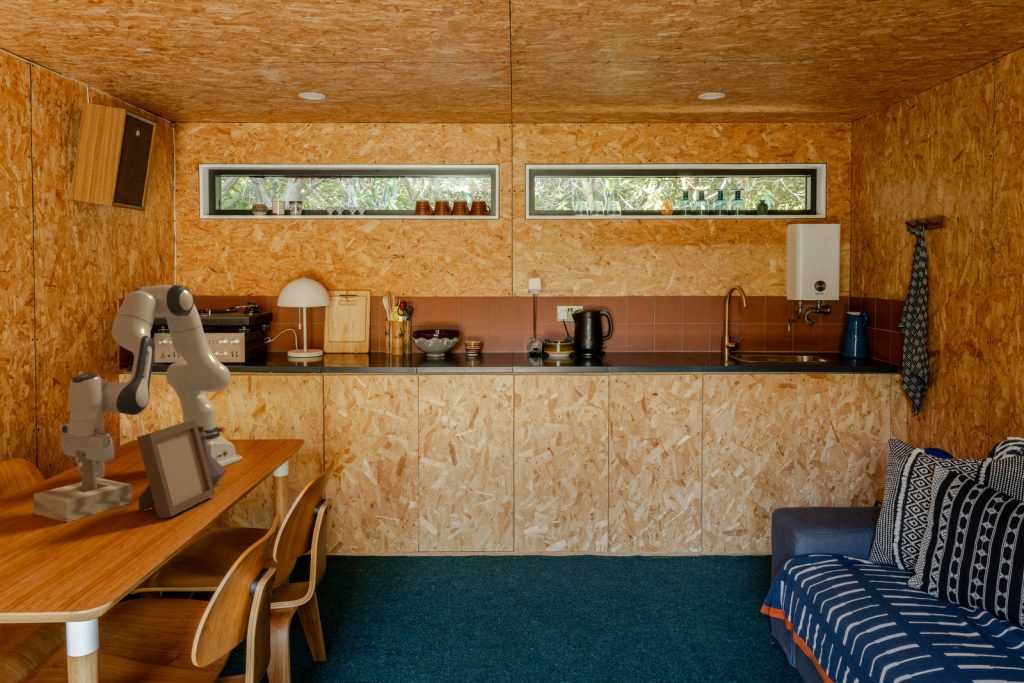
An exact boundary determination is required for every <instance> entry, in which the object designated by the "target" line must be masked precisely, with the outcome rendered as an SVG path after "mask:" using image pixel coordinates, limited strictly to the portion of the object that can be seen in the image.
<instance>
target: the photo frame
mask: <svg viewBox="0 0 1024 683" xmlns="http://www.w3.org/2000/svg"><path fill="white" fill-rule="evenodd" d="M136 440H137V444H138V447H139V450H140V455H141V459H142V462H143V465H144V469H145V473H146V477H147V481H148V484H147V487H146V488H145V489H144V490H143V491H142V493H141V494H140V495H139V496H138V510H143V511H145V510H144V509H148V510H150V509H149V508H153V509H155V511H156V515H157V516H156V517H157V518H158V517H159V518H162V519H165V518H166V519H167V518H171V517H173V516H176V515H177V514H179V513H181V512H184V511H185V510H187V509H189V508H192V507H194V506H196V505H197V504H199V503H201V502H203V501H205V500H208V499H210V498H212V497H214V496H215V495H216V492H215V488H214V486H213V484H212V480H211V476H210V472H209V468H208V465H207V461H206V457H205V453H204V449H203V445H202V441H201V438H200V434H199V430H198V426H197V422H196V420H193V421H189V422H184V423H183V422H182V423H179V424H174V425H171V426H169V427H165V428H162V429H159V430H155V431H152V432H149V433H146V434H143V435H139V436H137V437H136ZM154 507H155V508H154Z"/></svg>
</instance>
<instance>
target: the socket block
mask: <svg viewBox="0 0 1024 683" xmlns="http://www.w3.org/2000/svg"><path fill="white" fill-rule="evenodd" d="M96 480H97V489H96V490H92V491H88V492H83V490H82V481H81V482H76V483H73V484H69V485H66V486H65V485H64V486H60V487H57V488H53V489H48V490H45V491H40V492H36V493H33V494H32V495H33V511H34V512H33V513H34V515H36V514H37V516H40V515H42V516H41V517H44V516H45V517H44V518H48V517H49V518H48V519H52V518H53V520H56V519H57V520H56V521H60V520H62V521H61V522H64V521H65V523H69V521H71V522H73V521H72V520H74V521H77V520H80V519H79V518H81V519H83V518H82V517H84V518H86V517H85V516H88V515H91V516H93V515H92V514H94V515H97V514H96V513H98V514H100V513H99V512H101V513H104V512H103V511H105V512H107V511H106V510H108V511H110V510H109V509H112V508H115V509H117V508H116V507H118V508H120V507H119V506H122V507H124V506H123V505H125V506H127V505H126V504H129V505H131V504H130V503H132V504H133V499H132V497H133V496H132V493H133V492H132V484H130V483H126V482H120V481H115V480H111V479H107V478H97V479H96ZM112 510H113V509H112ZM88 517H89V516H88ZM76 519H77V520H76Z"/></svg>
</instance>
